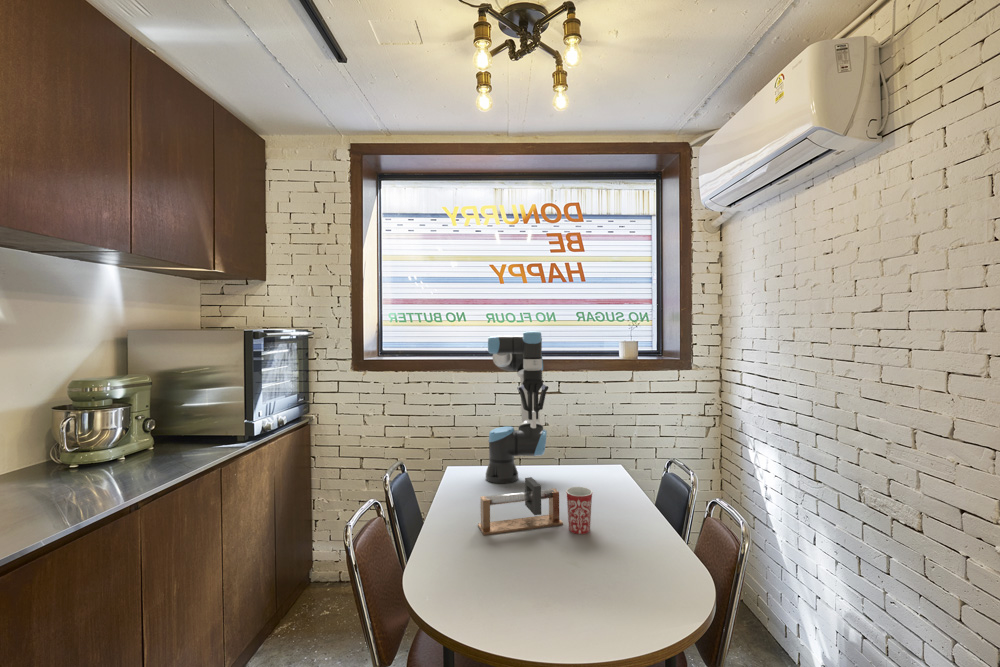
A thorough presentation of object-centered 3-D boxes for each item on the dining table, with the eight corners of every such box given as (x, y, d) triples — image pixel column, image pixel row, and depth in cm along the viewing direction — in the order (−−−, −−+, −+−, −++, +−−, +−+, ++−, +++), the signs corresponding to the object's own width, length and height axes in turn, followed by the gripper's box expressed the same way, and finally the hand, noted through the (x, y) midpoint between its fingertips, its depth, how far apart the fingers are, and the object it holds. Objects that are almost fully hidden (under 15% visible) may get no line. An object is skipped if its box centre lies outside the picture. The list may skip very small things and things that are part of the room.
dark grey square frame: (534, 515, 164) (534, 486, 164) (525, 505, 174) (524, 477, 174) (541, 514, 165) (540, 485, 165) (531, 504, 175) (531, 477, 175)
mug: (593, 536, 159) (593, 496, 159) (566, 534, 160) (565, 495, 160) (592, 521, 171) (591, 483, 171) (566, 519, 173) (566, 482, 173)
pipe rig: (483, 535, 161) (483, 501, 160) (478, 525, 168) (477, 493, 168) (563, 524, 168) (562, 492, 168) (554, 516, 176) (554, 484, 176)
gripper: (520, 370, 187) (520, 430, 187) (551, 369, 190) (551, 428, 191) (514, 369, 194) (515, 426, 194) (544, 368, 198) (545, 424, 198)
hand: (533, 427), depth 193 cm, fingers closed
